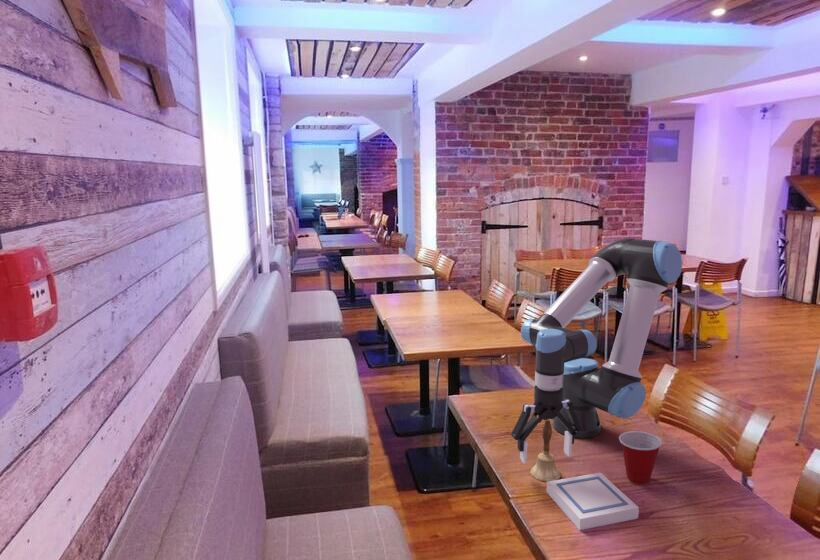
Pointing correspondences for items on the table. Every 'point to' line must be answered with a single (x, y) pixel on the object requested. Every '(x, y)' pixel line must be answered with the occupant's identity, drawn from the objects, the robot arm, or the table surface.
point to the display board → (591, 501)
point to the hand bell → (546, 459)
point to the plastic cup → (639, 455)
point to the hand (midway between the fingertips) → (545, 457)
